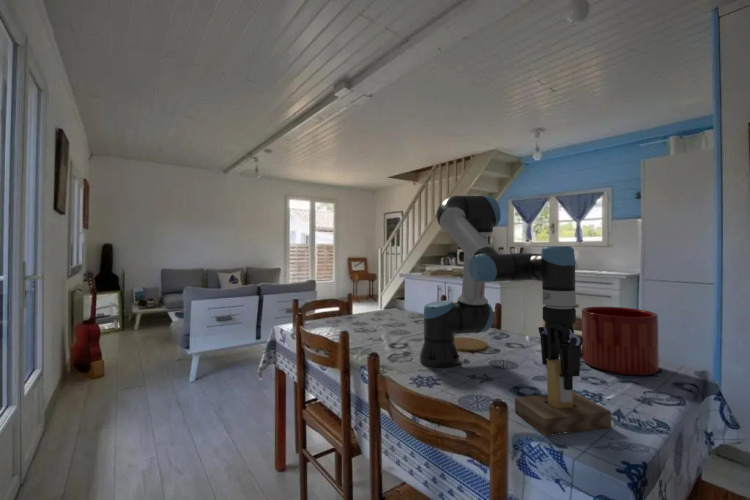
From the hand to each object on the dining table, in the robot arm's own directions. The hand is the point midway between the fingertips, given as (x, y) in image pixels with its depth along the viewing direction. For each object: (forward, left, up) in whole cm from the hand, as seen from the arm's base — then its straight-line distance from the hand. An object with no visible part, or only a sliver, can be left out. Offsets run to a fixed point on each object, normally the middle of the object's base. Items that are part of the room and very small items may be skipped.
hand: (560, 398), depth 88 cm
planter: (-31, +49, -6) cm, 58 cm away
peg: (0, 0, -3) cm, 3 cm away
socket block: (0, 0, -6) cm, 6 cm away
